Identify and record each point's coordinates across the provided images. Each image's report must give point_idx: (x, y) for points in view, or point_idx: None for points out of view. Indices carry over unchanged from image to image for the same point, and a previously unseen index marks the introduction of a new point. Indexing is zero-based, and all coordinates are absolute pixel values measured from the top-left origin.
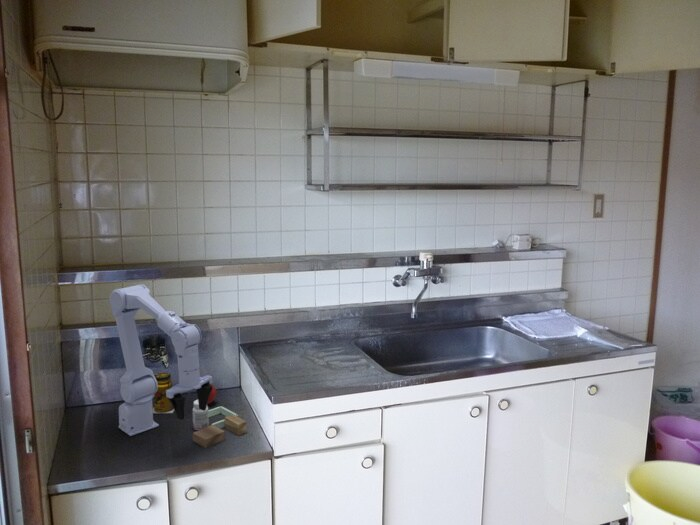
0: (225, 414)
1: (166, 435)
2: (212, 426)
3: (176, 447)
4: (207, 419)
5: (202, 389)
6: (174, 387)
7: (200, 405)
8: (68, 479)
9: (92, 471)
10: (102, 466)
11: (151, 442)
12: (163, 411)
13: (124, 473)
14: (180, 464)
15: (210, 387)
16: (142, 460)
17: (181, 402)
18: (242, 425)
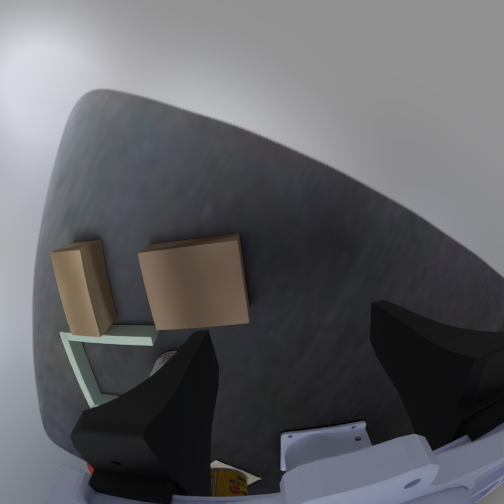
0: (91, 376)
1: (295, 386)
2: (161, 319)
3: (316, 304)
4: (157, 370)
5: (181, 460)
6: (492, 488)
7: (213, 374)
8: None
9: (496, 310)
10: (479, 319)
11: (350, 372)
12: (233, 472)
13: (477, 256)
14: (366, 188)
15: (96, 428)
16: (424, 291)
17: (478, 340)
18: (69, 249)
